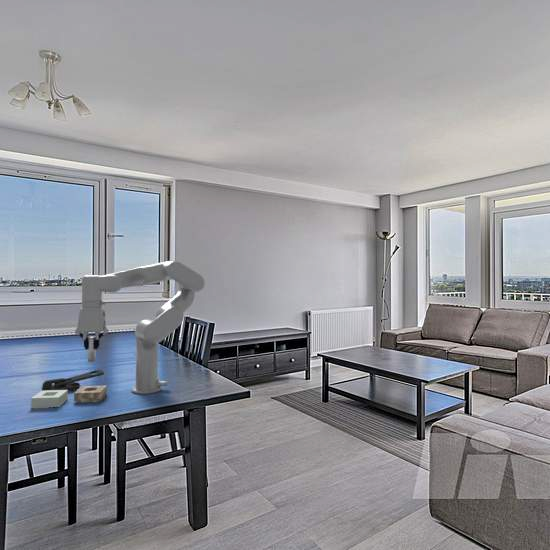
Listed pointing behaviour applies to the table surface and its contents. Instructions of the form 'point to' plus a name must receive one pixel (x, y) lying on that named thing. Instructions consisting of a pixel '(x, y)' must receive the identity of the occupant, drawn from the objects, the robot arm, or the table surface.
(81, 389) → the birch mount block
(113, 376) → the table surface
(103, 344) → the table surface
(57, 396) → the sage socket block
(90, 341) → the metal pin
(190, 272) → the robot arm
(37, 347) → the table surface
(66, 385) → the zipper pull
